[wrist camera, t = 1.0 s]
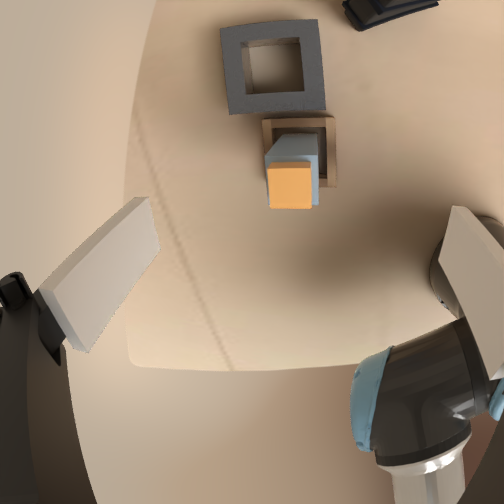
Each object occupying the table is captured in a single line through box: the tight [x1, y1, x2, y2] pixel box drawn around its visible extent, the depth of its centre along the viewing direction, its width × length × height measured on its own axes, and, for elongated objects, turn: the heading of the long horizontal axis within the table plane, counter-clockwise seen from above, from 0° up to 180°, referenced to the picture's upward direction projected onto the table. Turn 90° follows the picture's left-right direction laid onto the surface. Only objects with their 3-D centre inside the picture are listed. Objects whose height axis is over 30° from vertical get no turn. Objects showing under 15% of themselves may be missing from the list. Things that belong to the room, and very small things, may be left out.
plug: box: [264, 133, 319, 209], centre depth 27 cm, size 4×4×15 cm
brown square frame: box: [262, 117, 336, 187], centre depth 32 cm, size 8×8×2 cm
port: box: [220, 19, 326, 115], centre depth 27 cm, size 10×10×4 cm
